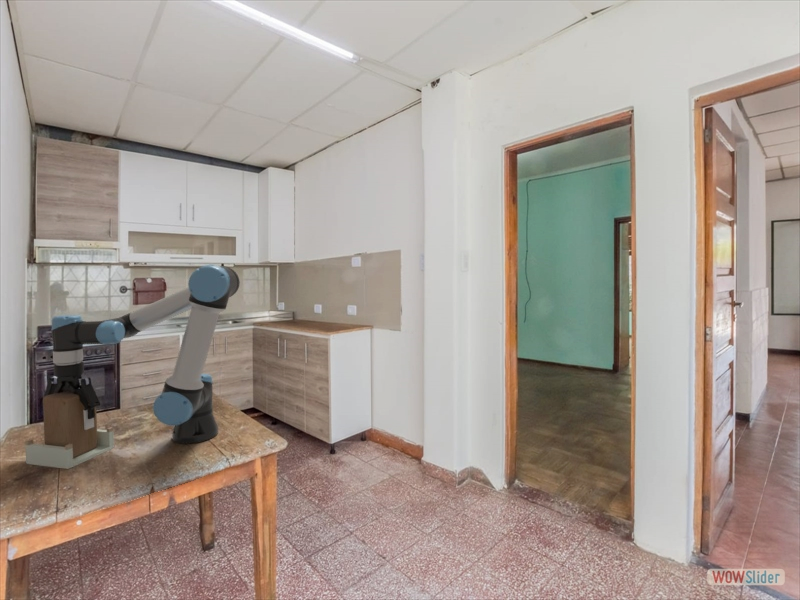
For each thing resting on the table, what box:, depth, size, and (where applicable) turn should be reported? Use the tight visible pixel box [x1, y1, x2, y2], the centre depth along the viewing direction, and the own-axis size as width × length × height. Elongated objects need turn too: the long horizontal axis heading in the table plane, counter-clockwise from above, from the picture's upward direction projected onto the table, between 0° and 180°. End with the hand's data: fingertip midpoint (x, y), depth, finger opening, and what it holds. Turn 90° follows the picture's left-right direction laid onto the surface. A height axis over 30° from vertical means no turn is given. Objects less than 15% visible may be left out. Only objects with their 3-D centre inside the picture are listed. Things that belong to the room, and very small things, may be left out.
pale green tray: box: [25, 426, 115, 470], centre depth 130 cm, size 16×16×7 cm
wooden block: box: [42, 391, 98, 458], centre depth 130 cm, size 10×10×20 cm
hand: (72, 426), depth 130 cm, fingers open, 13 cm apart
